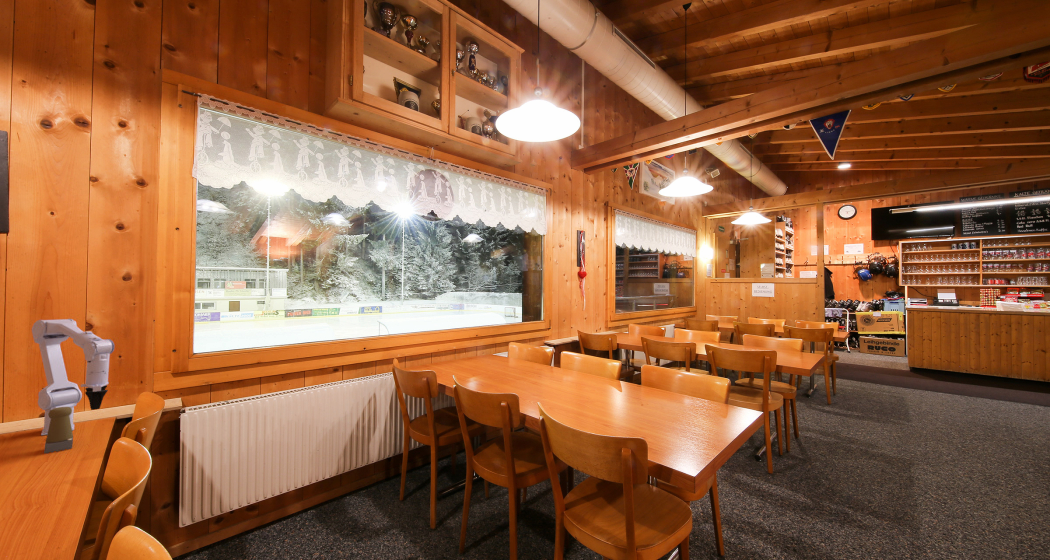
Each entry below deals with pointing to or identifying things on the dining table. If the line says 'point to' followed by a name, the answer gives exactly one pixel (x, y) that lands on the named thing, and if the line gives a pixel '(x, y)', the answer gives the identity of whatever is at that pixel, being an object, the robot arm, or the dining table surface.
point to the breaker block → (58, 445)
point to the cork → (59, 425)
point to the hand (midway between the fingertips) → (95, 407)
